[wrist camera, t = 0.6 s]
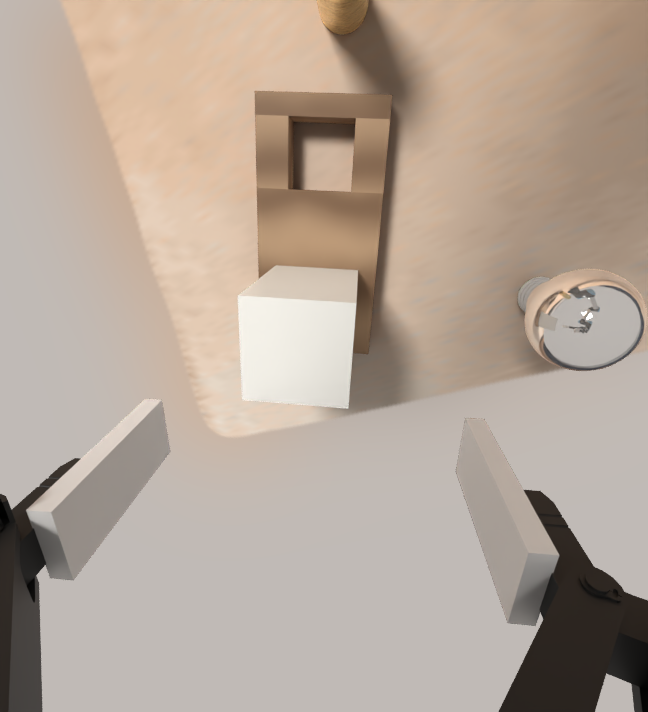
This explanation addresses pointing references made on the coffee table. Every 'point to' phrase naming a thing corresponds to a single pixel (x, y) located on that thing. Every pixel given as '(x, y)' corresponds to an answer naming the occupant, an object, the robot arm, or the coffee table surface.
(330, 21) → the pin
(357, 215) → the board
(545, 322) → the light bulb
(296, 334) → the block
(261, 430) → the coffee table surface
